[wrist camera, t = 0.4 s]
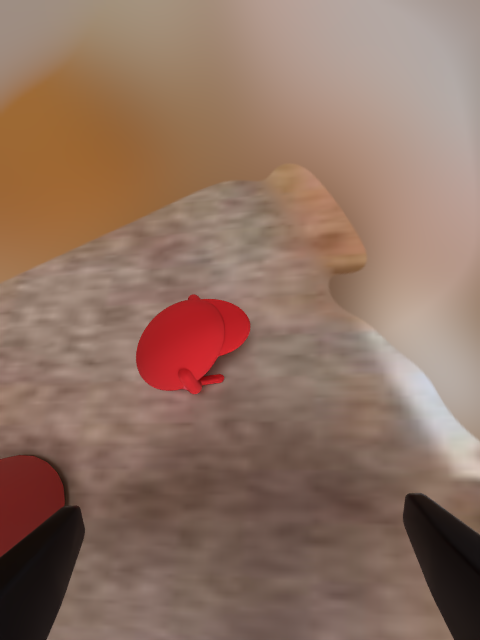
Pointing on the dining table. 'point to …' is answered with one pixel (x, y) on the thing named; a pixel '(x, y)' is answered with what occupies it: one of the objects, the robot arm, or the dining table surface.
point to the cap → (189, 343)
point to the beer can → (26, 497)
